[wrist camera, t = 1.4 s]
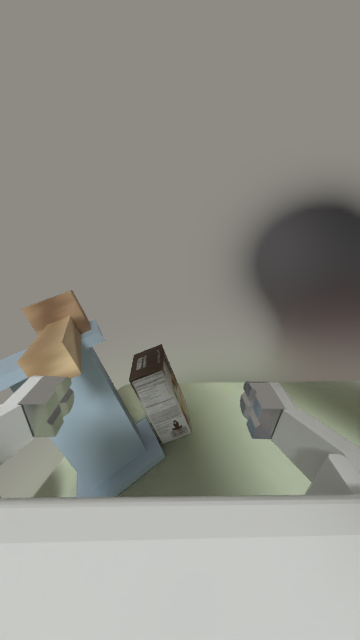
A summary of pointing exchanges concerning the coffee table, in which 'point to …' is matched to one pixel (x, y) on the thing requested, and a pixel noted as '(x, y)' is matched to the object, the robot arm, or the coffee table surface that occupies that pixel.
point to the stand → (96, 426)
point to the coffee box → (160, 394)
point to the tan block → (55, 337)
